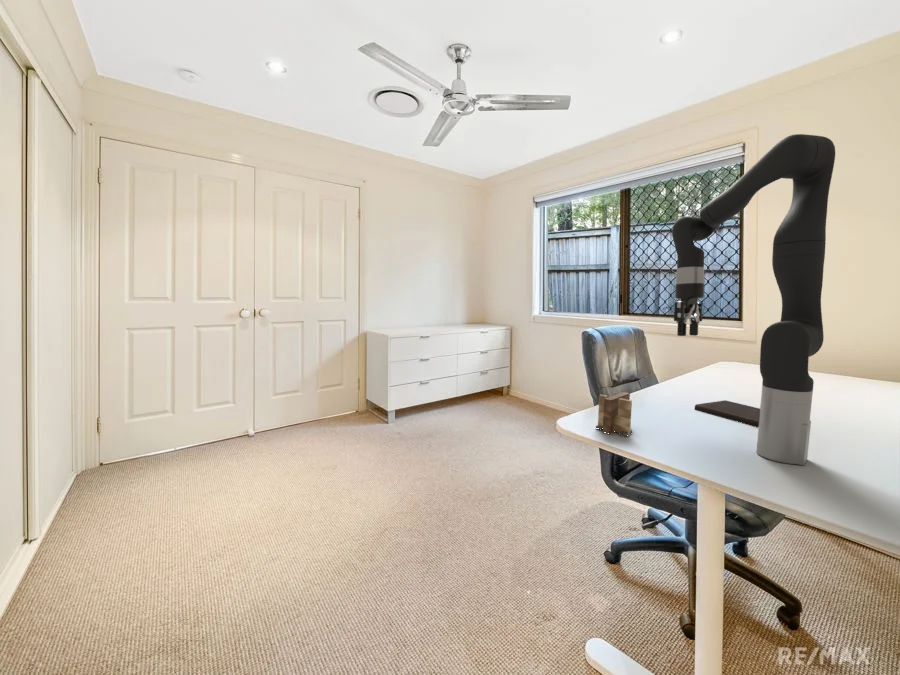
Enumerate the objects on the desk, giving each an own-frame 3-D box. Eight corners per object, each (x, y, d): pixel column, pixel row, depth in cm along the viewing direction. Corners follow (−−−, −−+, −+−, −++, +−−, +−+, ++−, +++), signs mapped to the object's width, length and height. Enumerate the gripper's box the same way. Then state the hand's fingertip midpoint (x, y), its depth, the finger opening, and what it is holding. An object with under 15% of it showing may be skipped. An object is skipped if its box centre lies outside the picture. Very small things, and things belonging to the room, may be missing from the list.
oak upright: (632, 433, 111) (634, 399, 110) (625, 437, 109) (627, 402, 108) (602, 426, 118) (603, 393, 117) (595, 429, 115) (596, 395, 114)
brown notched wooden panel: (628, 425, 119) (629, 393, 118) (609, 434, 111) (610, 400, 110) (621, 423, 120) (623, 391, 119) (602, 432, 112) (604, 398, 111)
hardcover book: (724, 406, 142) (725, 400, 141) (801, 425, 120) (802, 418, 120) (694, 411, 136) (694, 404, 135) (768, 432, 114) (769, 424, 114)
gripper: (693, 280, 113) (691, 336, 114) (712, 283, 122) (710, 335, 122) (666, 282, 119) (664, 335, 120) (686, 285, 128) (684, 334, 128)
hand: (687, 335), depth 121 cm, fingers open, 8 cm apart
